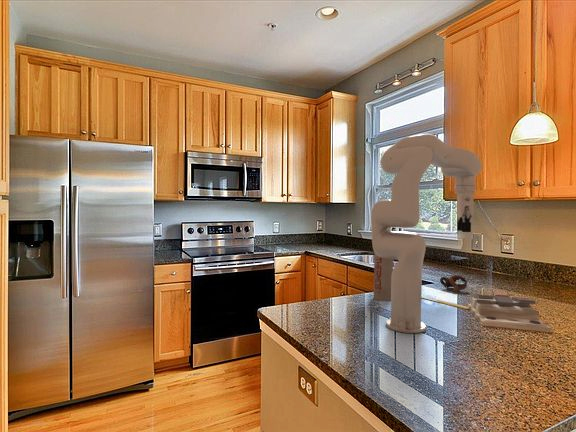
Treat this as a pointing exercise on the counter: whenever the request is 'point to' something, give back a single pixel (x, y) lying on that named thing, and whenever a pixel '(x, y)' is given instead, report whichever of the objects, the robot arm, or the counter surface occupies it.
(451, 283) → the brown looped piece
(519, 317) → the switch unit
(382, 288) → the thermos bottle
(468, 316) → the counter surface
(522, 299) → the rocker right
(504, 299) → the rocker middle
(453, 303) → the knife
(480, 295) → the rocker left
